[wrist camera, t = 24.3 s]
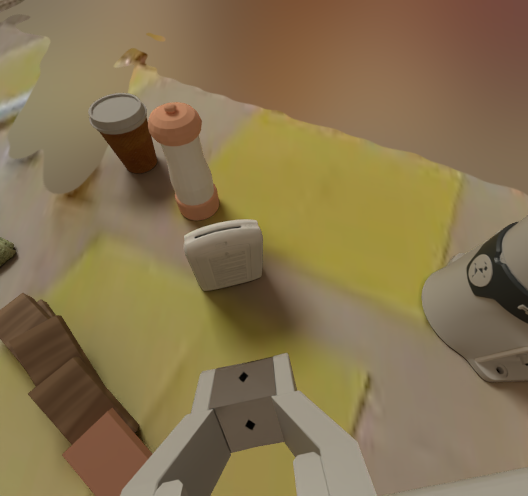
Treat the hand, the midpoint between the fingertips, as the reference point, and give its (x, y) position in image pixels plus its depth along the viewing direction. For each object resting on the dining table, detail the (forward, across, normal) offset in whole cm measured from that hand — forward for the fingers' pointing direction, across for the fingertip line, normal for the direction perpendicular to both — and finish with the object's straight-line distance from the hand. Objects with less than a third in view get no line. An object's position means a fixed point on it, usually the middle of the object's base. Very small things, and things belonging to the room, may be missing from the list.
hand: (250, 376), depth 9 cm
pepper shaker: (+44, +10, 0) cm, 45 cm away
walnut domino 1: (+22, +28, +11) cm, 38 cm away
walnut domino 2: (+19, +25, +16) cm, 35 cm away
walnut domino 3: (+15, +20, +20) cm, 32 cm away
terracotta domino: (+11, +16, +24) cm, 31 cm away
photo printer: (+33, +6, +10) cm, 35 cm away
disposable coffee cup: (+53, +21, -10) cm, 58 cm away
